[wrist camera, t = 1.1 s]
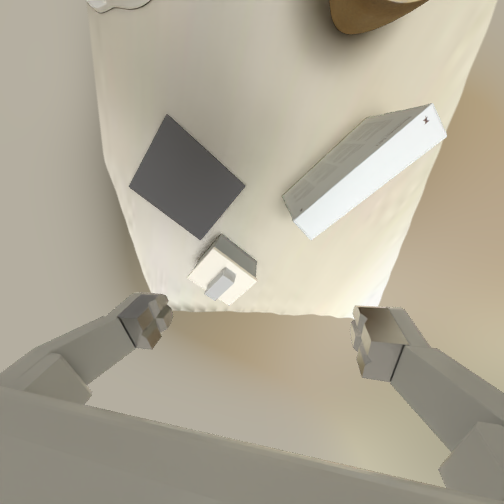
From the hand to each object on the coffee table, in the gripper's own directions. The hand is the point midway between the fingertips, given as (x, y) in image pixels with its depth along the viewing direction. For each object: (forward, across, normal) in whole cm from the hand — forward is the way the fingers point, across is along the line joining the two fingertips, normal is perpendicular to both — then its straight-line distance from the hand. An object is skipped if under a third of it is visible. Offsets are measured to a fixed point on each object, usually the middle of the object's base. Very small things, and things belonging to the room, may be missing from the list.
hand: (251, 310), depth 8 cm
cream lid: (+31, +15, +19) cm, 39 cm away
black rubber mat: (+36, +22, -1) cm, 42 cm away
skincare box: (+40, -8, -2) cm, 41 cm away
